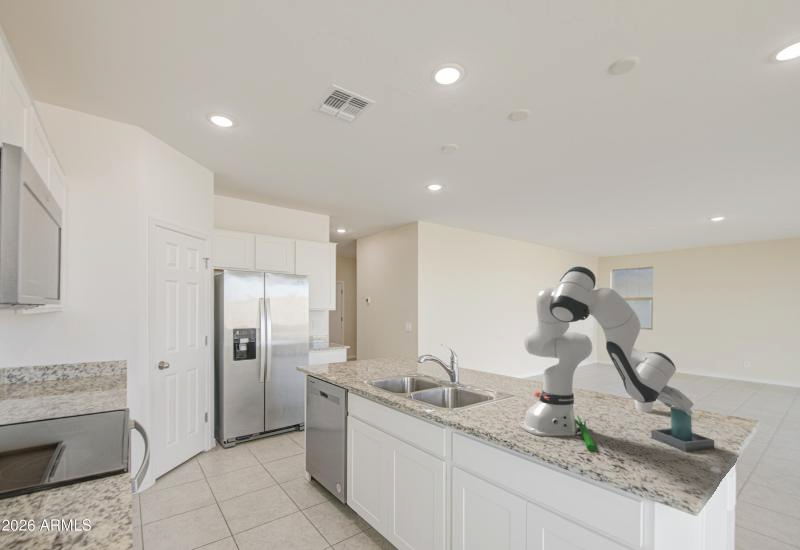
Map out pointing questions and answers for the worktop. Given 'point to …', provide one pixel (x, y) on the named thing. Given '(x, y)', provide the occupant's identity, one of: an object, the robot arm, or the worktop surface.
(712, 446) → the tray
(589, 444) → the green onion
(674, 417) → the teal cylinder
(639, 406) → the foam cup
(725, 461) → the worktop surface
